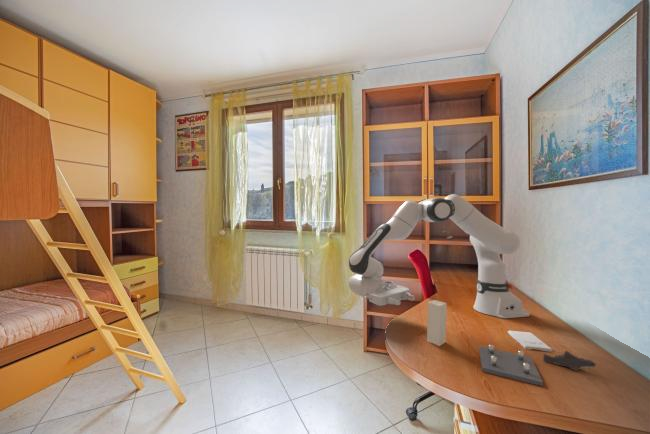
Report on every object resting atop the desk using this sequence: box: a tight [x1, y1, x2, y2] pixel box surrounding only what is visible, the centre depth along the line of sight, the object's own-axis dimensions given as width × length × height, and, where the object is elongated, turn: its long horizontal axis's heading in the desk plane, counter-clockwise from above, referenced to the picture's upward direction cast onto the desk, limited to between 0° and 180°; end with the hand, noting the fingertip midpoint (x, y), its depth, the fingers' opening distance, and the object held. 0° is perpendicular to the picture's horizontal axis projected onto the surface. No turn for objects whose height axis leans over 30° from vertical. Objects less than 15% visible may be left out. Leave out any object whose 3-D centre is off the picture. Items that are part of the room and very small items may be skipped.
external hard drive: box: [507, 330, 553, 353], centre depth 97 cm, size 2×8×12 cm
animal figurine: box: [543, 350, 597, 373], centre depth 81 cm, size 12×4×5 cm, turn 56°
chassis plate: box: [478, 343, 544, 387], centre depth 81 cm, size 14×14×4 cm
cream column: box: [426, 299, 447, 347], centre depth 95 cm, size 4×4×14 cm
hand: (406, 300), depth 104 cm, fingers open, 8 cm apart
